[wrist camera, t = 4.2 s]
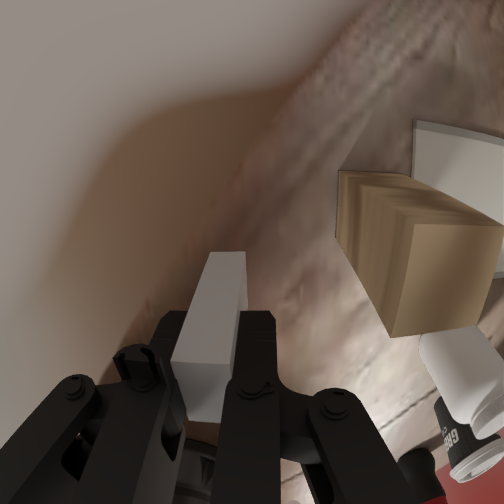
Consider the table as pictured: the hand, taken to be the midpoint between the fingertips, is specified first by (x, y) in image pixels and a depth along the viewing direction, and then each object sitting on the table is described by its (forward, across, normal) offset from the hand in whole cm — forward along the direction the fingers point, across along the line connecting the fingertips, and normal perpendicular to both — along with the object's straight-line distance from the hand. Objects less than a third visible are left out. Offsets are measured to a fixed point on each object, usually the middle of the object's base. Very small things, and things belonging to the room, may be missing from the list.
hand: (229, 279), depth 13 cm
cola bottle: (+13, +32, -51) cm, 62 cm away
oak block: (+13, +11, 0) cm, 17 cm away
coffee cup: (+13, +32, -31) cm, 47 cm away
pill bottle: (+14, +24, -16) cm, 32 cm away
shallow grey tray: (+13, +24, 0) cm, 27 cm away
